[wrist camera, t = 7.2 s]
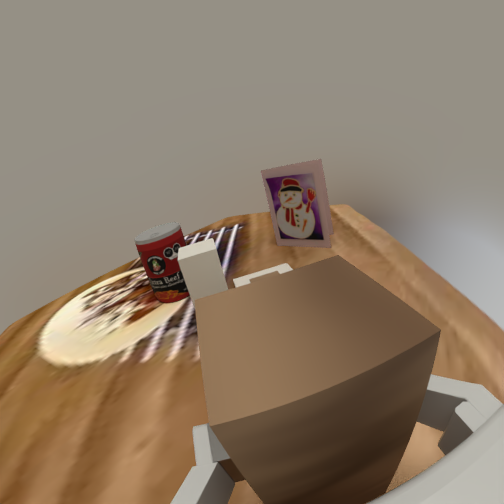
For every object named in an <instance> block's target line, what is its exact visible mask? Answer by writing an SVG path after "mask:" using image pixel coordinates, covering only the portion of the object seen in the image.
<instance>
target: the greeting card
mask: <svg viewBox="0 0 504 504" xmlns="http://www.w3.org/2000/svg"><path fill="white" fill-rule="evenodd" d="M261 173H262V177H263V182H264V186H265V191H266V195H267V199H268V204H269V209H270V213H271V218H272V222H273V227H274V232H275V236H276V241H277V245H279V246H303V247H326V248H331V244H330V237H329V235H331V234H333V227H332V220H331V214H330V207H329V201H328V195H327V189H326V183H325V178H324V172H323V168H322V161H321V159H318V160H312V161H307V162H302V163H296V164H291V165H286V166H281V167H276V168H271V169H266V170H262V171H261Z"/></svg>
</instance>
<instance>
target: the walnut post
mask: <svg viewBox="0 0 504 504" xmlns="http://www.w3.org/2000/svg"><path fill="white" fill-rule="evenodd" d="M195 310H196V321H197V331H198V341H199V350H200V359H201V368H202V376H203V383H204V391H205V398H206V405H207V412H208V419H209V425H210V428H211V429H212V431H213V432H214V434H215V435H216V437H217V439H218V440H219V442H220V443H221V445H222V446H223V448H224V449H225V451H226V452H227V454H228V455H229V457H230V458H231V460H232V461H233V463H234V464H235V465H236V467H237V468H238V470H239V471H240V472H241V474H242V475H243V477H244V478H245V479H246V481H247V482H248V483H249V485H250V486H251V487H252V489H253V490H254V491H255V493H256V494H257V495H258V497H259V498H260V499H261V500H262V502H263V503H264V504H364V503H367V502H369V501H371V500H373V499H375V498H377V497H379V496H380V495H382V494H384V493H385V492H386V490H387V488H388V486H389V484H390V482H391V480H392V478H393V476H394V474H395V472H396V470H397V468H398V465H399V463H400V461H401V459H402V456H403V454H404V452H405V449H406V447H407V445H408V442H409V440H410V437H411V435H412V432H413V429H414V427H415V424H416V421H417V418H418V415H419V412H420V409H421V406H422V403H423V400H424V397H425V394H426V390H427V387H428V383H429V380H430V376H431V372H432V368H433V364H434V360H435V356H436V351H437V347H438V342H439V337H440V332H441V330H440V329H439V328H438V327H437V326H435V325H434V324H433V323H431V322H430V321H429V320H427V319H426V318H425V317H423V316H422V315H421V314H419V313H418V312H417V311H415V310H414V309H413V308H411V307H410V306H409V305H407V304H406V303H405V302H403V301H402V300H401V299H399V298H398V297H397V296H395V295H394V294H392V293H391V292H390V291H388V290H387V289H386V288H384V287H383V286H381V285H380V284H379V283H377V282H376V281H374V280H373V279H372V278H370V277H369V276H367V275H366V274H365V273H363V272H362V271H360V270H359V269H357V268H356V267H355V266H353V265H352V264H350V263H349V262H347V261H346V260H344V259H343V258H342V257H340V256H339V255H337V256H334V257H331V258H328V259H325V260H322V261H319V262H316V263H313V264H310V265H307V266H304V267H300V268H297V269H294V270H291V271H288V272H285V273H282V274H278V275H275V276H272V277H269V278H266V279H262V280H259V281H256V282H253V283H249V284H246V285H243V286H239V287H236V288H233V289H229V290H226V291H223V292H219V293H216V294H213V295H209V296H206V297H202V298H199V299H196V300H195Z"/></svg>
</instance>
